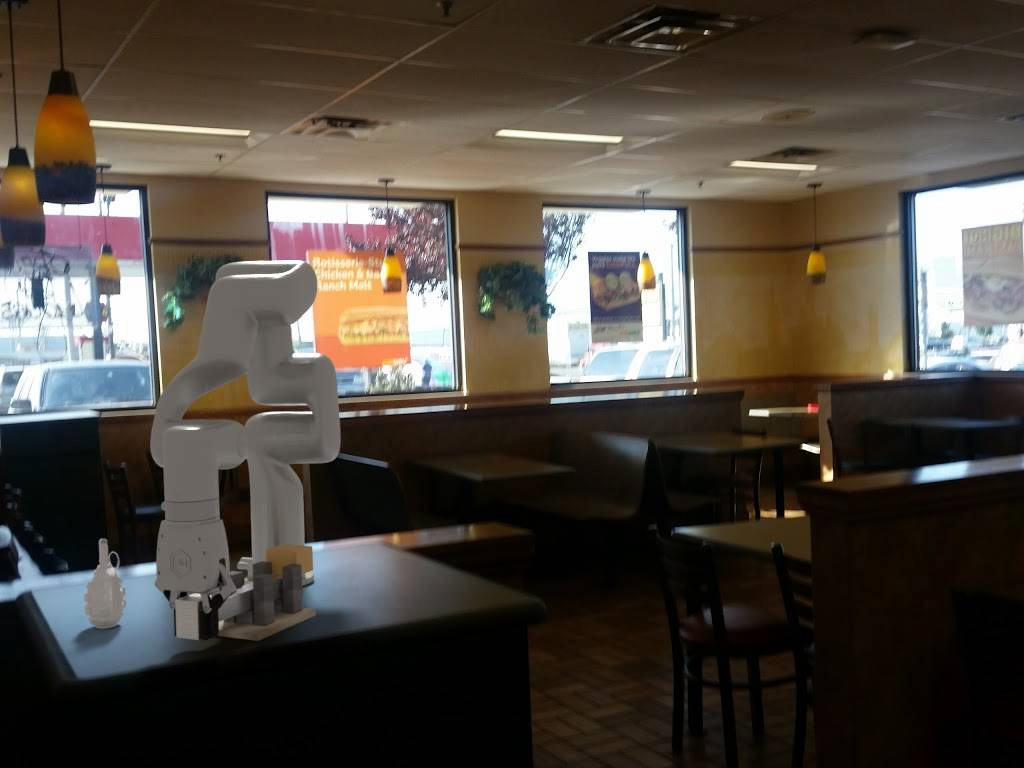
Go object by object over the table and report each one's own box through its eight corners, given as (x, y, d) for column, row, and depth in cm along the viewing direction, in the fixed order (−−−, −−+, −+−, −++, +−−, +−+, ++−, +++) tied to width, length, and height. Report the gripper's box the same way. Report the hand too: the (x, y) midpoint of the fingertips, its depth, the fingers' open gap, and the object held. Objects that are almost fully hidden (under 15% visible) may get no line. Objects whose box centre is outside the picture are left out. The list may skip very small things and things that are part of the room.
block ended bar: (176, 637, 150) (175, 599, 150) (279, 597, 172) (278, 564, 172) (198, 640, 148) (197, 601, 148) (299, 599, 171) (298, 565, 170)
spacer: (266, 573, 171) (265, 549, 171) (283, 567, 175) (282, 544, 175) (297, 576, 169) (296, 551, 168) (313, 570, 173) (312, 546, 172)
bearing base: (199, 633, 160) (197, 578, 159) (260, 609, 173) (258, 558, 173) (258, 640, 155) (256, 584, 155) (315, 615, 169) (314, 563, 169)
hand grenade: (78, 626, 165) (74, 539, 164) (116, 618, 169) (113, 533, 169) (98, 635, 160) (95, 545, 159) (137, 627, 164) (134, 539, 163)
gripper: (128, 512, 150) (133, 637, 151) (222, 518, 143) (226, 649, 144) (165, 503, 157) (169, 623, 158) (256, 509, 150) (260, 634, 151)
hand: (196, 634), depth 151 cm, fingers closed on block ended bar, 4 cm apart
